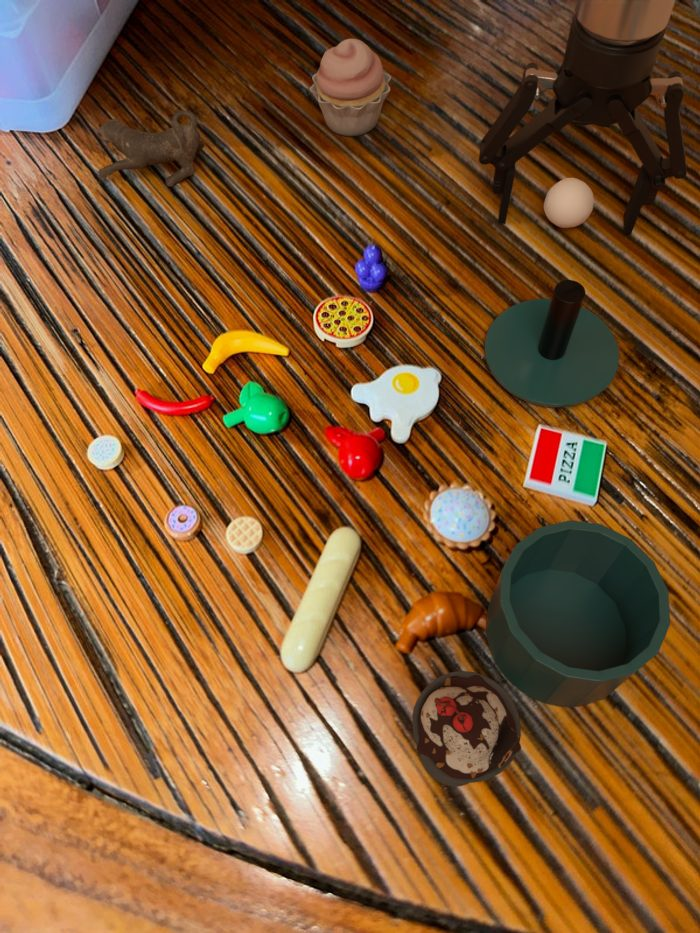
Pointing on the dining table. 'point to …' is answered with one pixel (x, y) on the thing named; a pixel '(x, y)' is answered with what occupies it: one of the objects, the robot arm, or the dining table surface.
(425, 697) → the sundae
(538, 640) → the pot
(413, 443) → the dining table surface
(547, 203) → the beige ball
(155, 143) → the dog figurine
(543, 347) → the lid
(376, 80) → the cupcake
